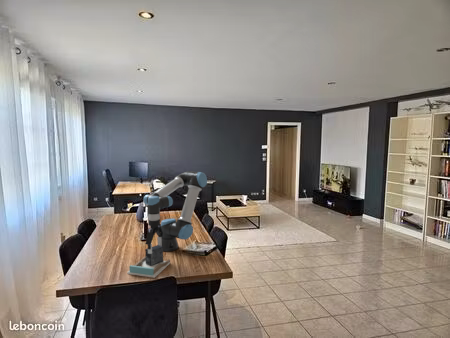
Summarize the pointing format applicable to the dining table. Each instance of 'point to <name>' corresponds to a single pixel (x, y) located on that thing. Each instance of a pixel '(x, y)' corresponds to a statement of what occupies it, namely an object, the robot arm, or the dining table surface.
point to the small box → (154, 255)
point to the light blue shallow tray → (147, 268)
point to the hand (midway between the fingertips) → (155, 249)
